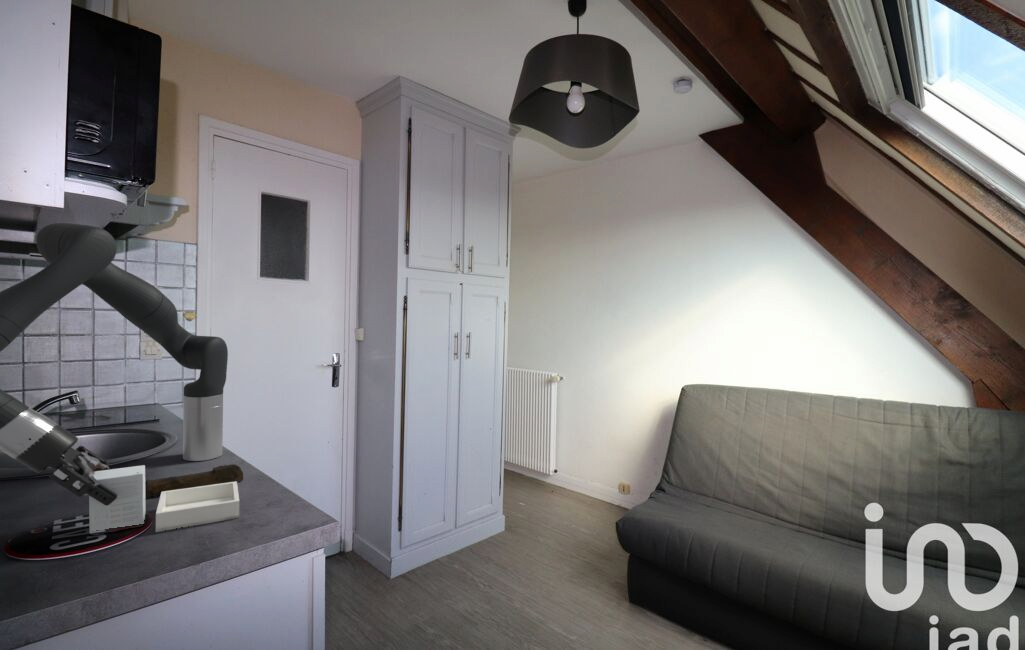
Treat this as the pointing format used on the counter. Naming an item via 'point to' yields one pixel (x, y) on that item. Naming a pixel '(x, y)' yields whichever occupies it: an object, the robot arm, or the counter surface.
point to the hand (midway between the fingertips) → (117, 492)
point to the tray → (197, 506)
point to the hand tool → (194, 480)
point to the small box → (119, 499)
